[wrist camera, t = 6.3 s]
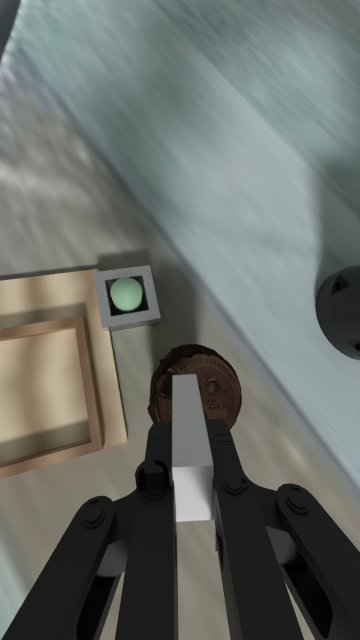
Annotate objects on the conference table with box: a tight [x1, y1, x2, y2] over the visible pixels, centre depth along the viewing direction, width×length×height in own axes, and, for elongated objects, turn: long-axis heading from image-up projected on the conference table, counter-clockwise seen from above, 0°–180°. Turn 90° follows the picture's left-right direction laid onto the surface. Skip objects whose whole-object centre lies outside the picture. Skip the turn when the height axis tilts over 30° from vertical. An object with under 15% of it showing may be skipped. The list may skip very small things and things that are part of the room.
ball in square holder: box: [93, 265, 161, 332], centre depth 30 cm, size 7×7×4 cm
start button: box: [111, 277, 142, 314], centre depth 28 cm, size 4×4×4 cm
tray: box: [0, 269, 128, 479], centre depth 26 cm, size 18×22×3 cm
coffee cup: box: [147, 344, 242, 429], centre depth 24 cm, size 9×8×13 cm
